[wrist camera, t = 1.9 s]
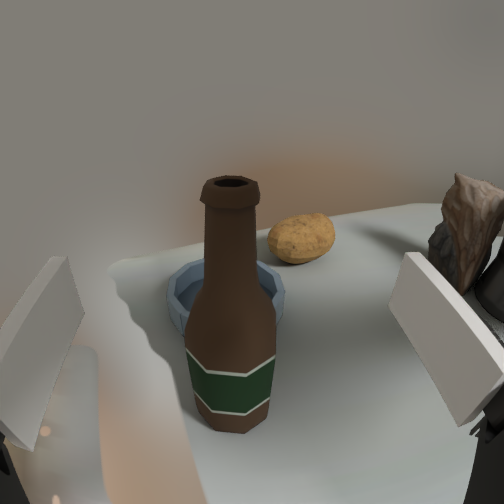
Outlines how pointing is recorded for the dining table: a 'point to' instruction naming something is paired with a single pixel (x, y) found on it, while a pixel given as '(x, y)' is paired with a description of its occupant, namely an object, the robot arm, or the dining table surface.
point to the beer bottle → (231, 313)
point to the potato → (301, 238)
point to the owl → (466, 231)
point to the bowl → (191, 281)
